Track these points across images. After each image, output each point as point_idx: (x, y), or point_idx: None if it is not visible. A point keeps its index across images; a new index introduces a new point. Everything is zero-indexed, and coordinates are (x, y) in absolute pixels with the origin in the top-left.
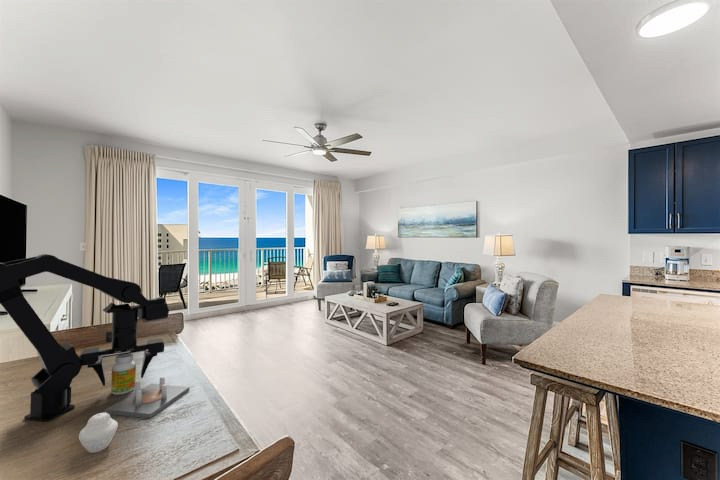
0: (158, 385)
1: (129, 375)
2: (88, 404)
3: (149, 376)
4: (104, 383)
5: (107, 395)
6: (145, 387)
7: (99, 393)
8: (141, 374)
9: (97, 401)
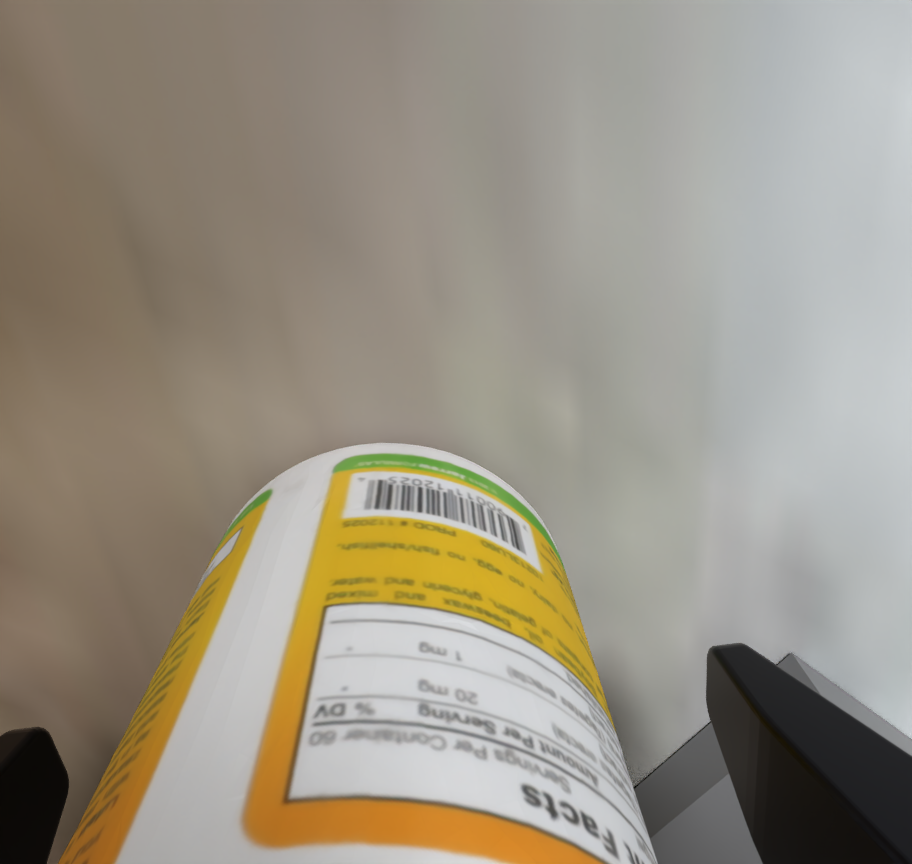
0: None
1: None
2: None
3: (844, 81)
4: (40, 850)
5: None
6: (723, 792)
7: (28, 548)
8: (748, 827)
9: None
